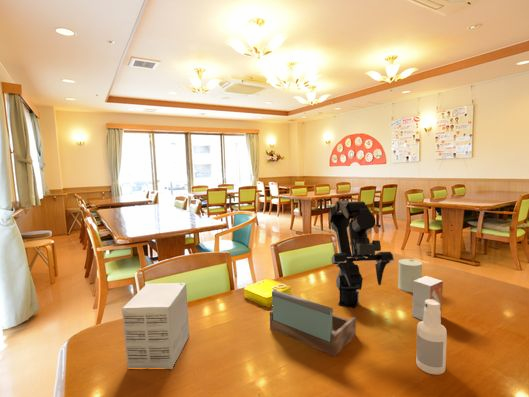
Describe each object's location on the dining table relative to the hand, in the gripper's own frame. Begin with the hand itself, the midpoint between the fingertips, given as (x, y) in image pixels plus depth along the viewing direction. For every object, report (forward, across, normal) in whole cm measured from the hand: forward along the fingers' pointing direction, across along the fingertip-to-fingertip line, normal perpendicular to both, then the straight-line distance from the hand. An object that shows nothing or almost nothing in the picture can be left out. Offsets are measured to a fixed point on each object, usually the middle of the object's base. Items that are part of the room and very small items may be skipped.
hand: (365, 285), depth 98 cm
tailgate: (+13, -21, +1) cm, 25 cm away
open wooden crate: (+14, -17, +8) cm, 23 cm away
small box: (+10, +24, +15) cm, 30 cm away
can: (-1, +29, +37) cm, 47 cm away
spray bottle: (+22, +12, -8) cm, 26 cm away
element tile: (+1, -31, +33) cm, 46 cm away
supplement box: (+18, -63, 0) cm, 66 cm away
